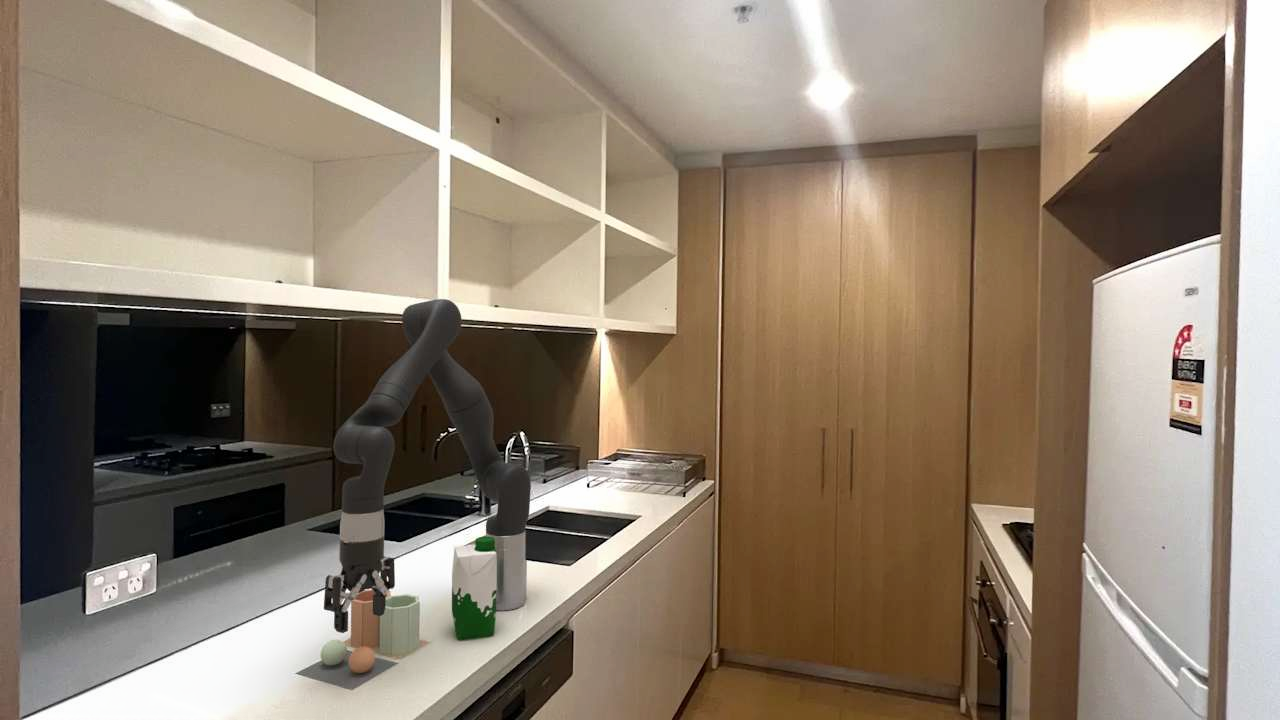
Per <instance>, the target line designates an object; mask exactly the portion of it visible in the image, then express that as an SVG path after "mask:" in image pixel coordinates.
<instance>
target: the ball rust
mask: <svg viewBox="0 0 1280 720" xmlns="http://www.w3.org/2000/svg"><path fill="white" fill-rule="evenodd" d="M352 651H353V652H352V653H351V655H350V657H349V667H350V669H351V670H352V671H353V672H355V673H364V672H367V671H368V670H370V669H371V667H372V666H373V664H374V662H375V657H376V655H375V654H376V653H374V652H373V650H372V649H371V648H369V647H365V646H363V647H359V648H357V649H356V648H354V650H352Z"/></svg>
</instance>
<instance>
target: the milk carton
mask: <svg viewBox="0 0 1280 720" xmlns="http://www.w3.org/2000/svg"><path fill="white" fill-rule="evenodd" d="M453 550H454V551H453V552H454V553H453V559H452V570H451V571H452V572H451V573H452V574H451V614H452V620H453V625H454V629H455V635H456V640H457V641H458V642H462V641H469V640H476V639H483V638H490V637H494V636H495V627H496V617H497V610H496V592H497V554H496V548H495V538H494V537H488V536H486V535H485V536H480V537H477V538H475V544H467V545H462V546H459V545H458V546H454V549H453Z"/></svg>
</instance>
